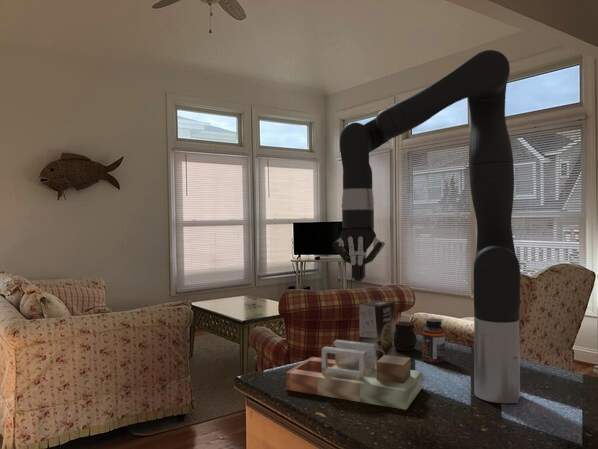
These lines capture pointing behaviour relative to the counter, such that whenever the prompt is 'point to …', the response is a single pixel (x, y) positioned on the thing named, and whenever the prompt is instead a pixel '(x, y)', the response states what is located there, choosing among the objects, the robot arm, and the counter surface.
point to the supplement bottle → (433, 341)
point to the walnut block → (393, 369)
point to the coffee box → (377, 326)
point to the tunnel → (350, 358)
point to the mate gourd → (404, 336)
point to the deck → (352, 384)
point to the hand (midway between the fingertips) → (358, 280)
